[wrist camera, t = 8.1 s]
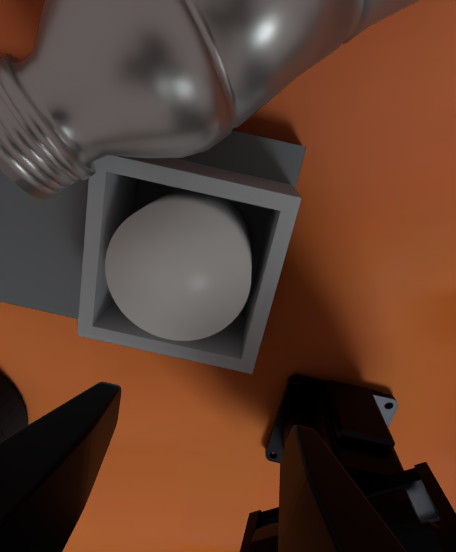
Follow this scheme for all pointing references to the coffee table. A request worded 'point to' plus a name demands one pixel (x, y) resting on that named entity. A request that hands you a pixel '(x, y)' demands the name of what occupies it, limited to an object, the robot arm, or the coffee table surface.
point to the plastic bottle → (156, 77)
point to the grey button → (181, 265)
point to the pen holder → (11, 410)
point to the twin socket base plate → (122, 204)
